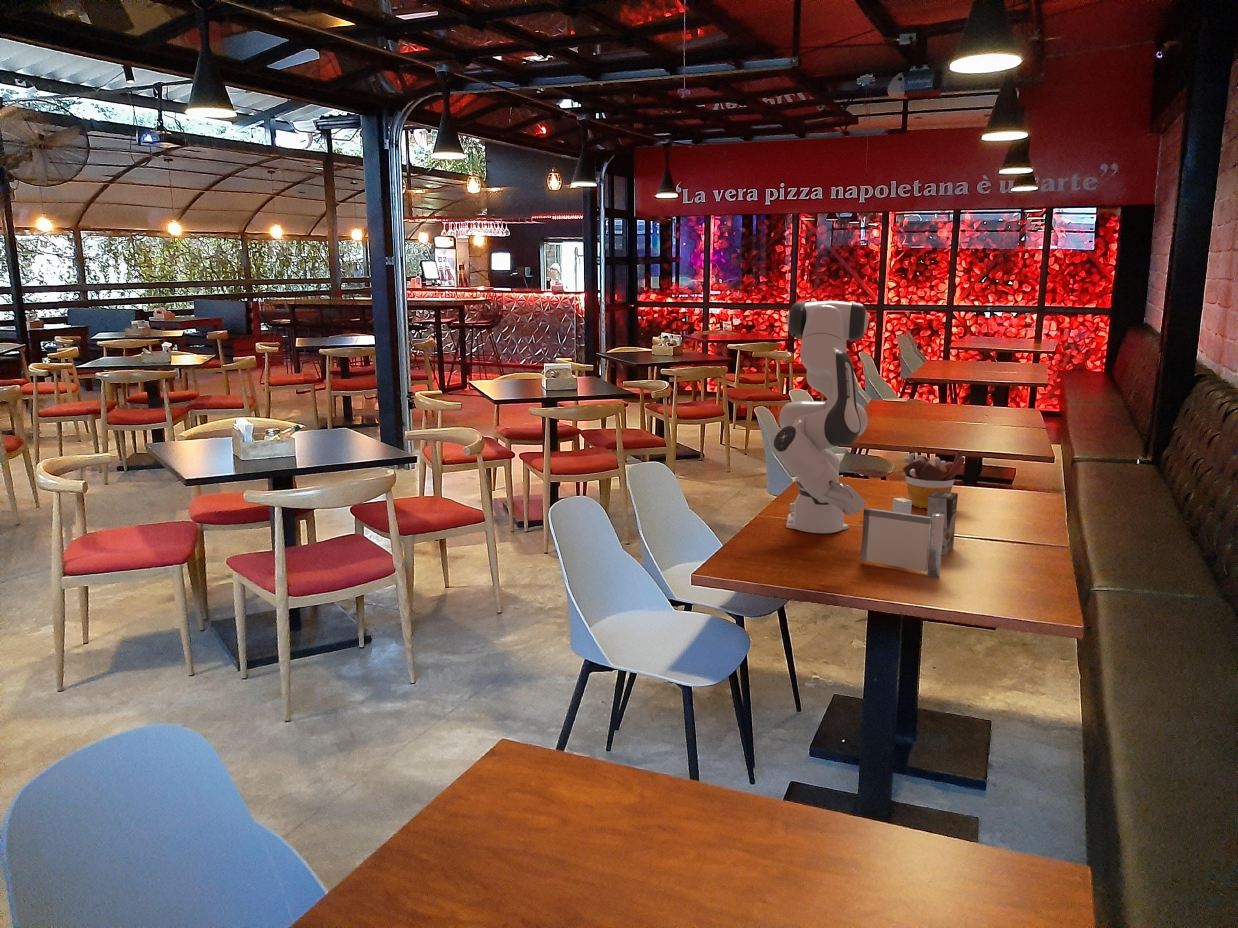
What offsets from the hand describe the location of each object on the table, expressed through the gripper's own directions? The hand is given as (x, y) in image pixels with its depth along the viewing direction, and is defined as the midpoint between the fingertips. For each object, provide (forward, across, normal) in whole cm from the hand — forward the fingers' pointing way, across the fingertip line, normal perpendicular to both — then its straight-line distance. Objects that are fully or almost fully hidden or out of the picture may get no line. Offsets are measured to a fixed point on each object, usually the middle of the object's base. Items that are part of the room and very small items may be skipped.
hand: (850, 512), depth 233 cm
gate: (+18, -4, +2) cm, 18 cm away
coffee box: (+35, +6, -14) cm, 38 cm away
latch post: (+24, +4, -4) cm, 25 cm away
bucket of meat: (+59, +50, -38) cm, 86 cm away
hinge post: (+23, -13, -2) cm, 26 cm away
